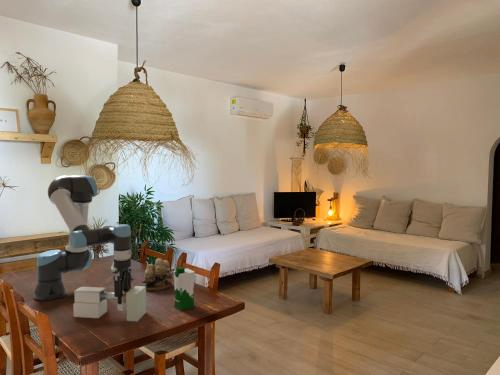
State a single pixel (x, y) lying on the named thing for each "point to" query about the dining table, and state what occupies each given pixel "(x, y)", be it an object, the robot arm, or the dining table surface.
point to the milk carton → (184, 288)
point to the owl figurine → (157, 276)
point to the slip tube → (111, 296)
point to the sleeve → (89, 302)
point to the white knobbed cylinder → (115, 269)
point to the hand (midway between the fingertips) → (123, 308)
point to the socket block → (136, 303)
